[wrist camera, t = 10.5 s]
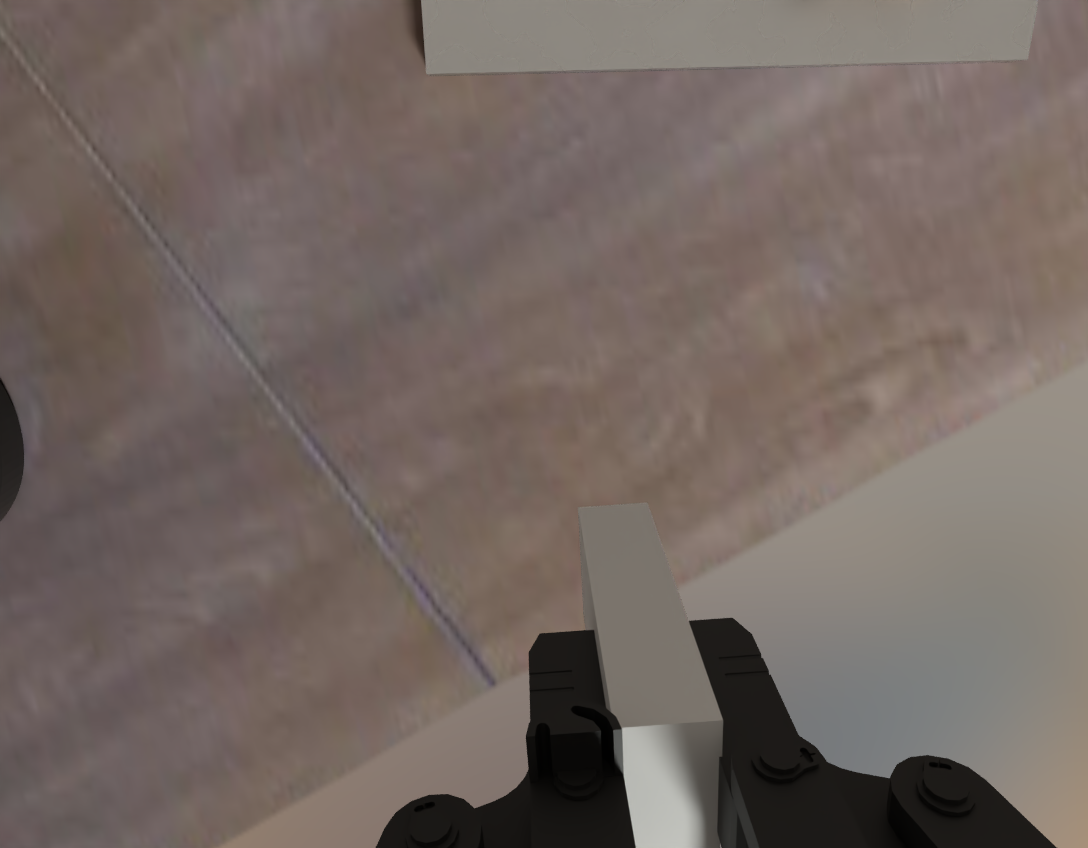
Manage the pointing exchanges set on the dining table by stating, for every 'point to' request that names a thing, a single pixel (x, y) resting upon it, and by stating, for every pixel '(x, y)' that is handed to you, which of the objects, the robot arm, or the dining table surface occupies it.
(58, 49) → the dining table surface
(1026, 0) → the bolt plate
